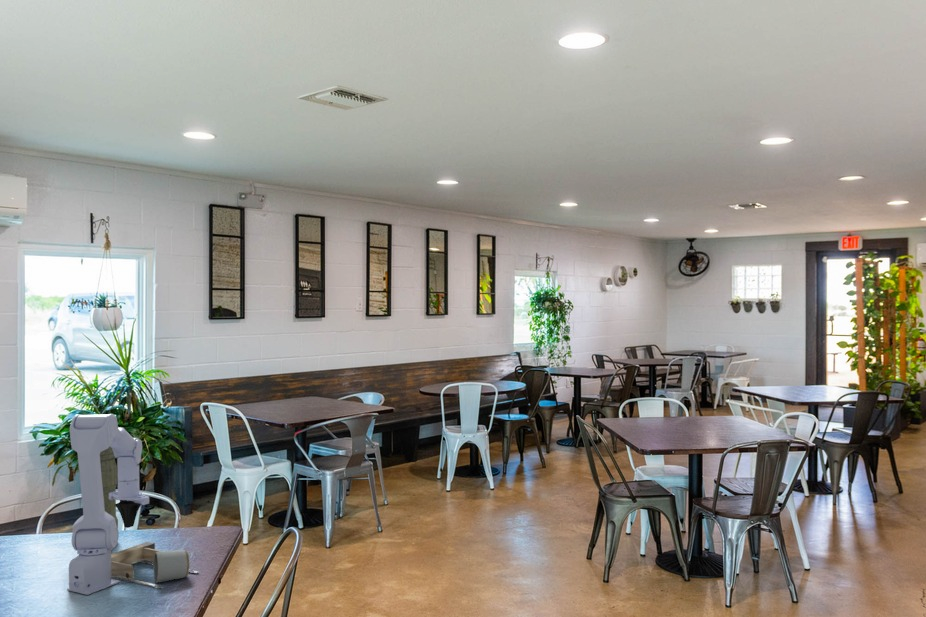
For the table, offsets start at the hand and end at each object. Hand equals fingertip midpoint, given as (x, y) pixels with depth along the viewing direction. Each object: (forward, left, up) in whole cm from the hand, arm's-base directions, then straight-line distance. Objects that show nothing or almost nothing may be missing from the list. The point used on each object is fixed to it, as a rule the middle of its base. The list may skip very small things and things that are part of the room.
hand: (129, 526), depth 218 cm
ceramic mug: (-8, -25, -9) cm, 27 cm away
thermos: (+4, +17, -9) cm, 19 cm away
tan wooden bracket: (-6, -12, -8) cm, 16 cm away
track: (-8, -18, -8) cm, 21 cm away
